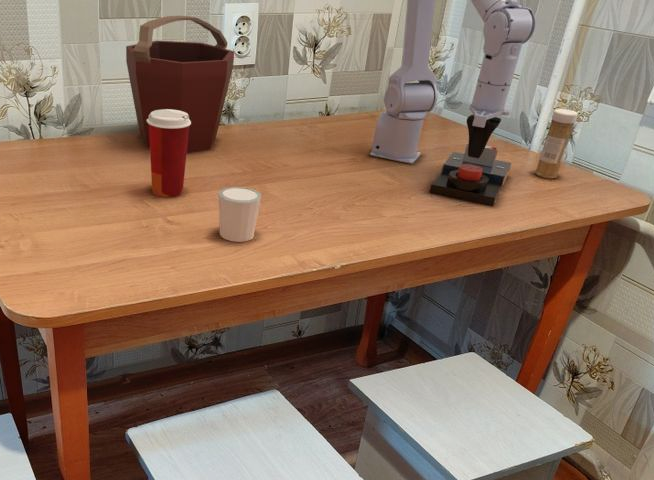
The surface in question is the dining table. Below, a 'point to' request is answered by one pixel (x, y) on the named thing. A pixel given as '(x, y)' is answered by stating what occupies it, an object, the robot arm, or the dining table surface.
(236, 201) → the white tapered cup
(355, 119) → the dining table surface
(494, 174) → the base
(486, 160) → the tap lever
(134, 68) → the bucket
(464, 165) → the red button
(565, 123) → the spice jar
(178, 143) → the paper cup
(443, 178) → the button box
